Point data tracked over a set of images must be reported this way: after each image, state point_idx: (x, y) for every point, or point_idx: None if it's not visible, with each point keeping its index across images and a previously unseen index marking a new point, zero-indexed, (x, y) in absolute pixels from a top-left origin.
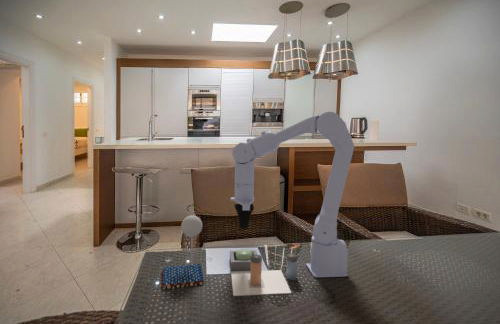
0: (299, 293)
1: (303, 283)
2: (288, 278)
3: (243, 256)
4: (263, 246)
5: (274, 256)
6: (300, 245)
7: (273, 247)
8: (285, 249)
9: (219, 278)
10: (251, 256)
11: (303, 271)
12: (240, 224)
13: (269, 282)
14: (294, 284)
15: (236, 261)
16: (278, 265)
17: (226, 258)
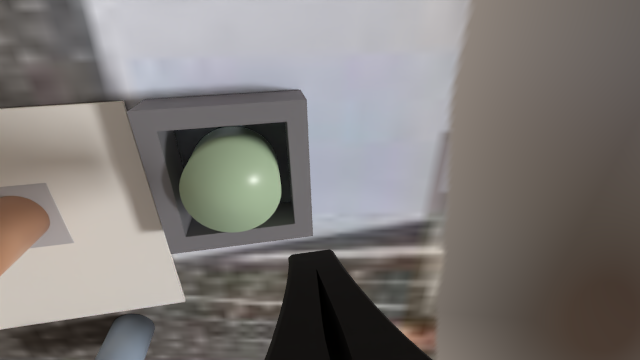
0: (8, 347)
1: (94, 356)
2: (114, 322)
3: (179, 188)
4: (432, 241)
5: None
6: None
7: (414, 275)
8: (387, 311)
9: (27, 33)
10: None
11: (193, 357)
12: (286, 289)
13: (52, 266)
14: (77, 335)
15: (144, 143)
16: (236, 291)
17: (307, 70)
